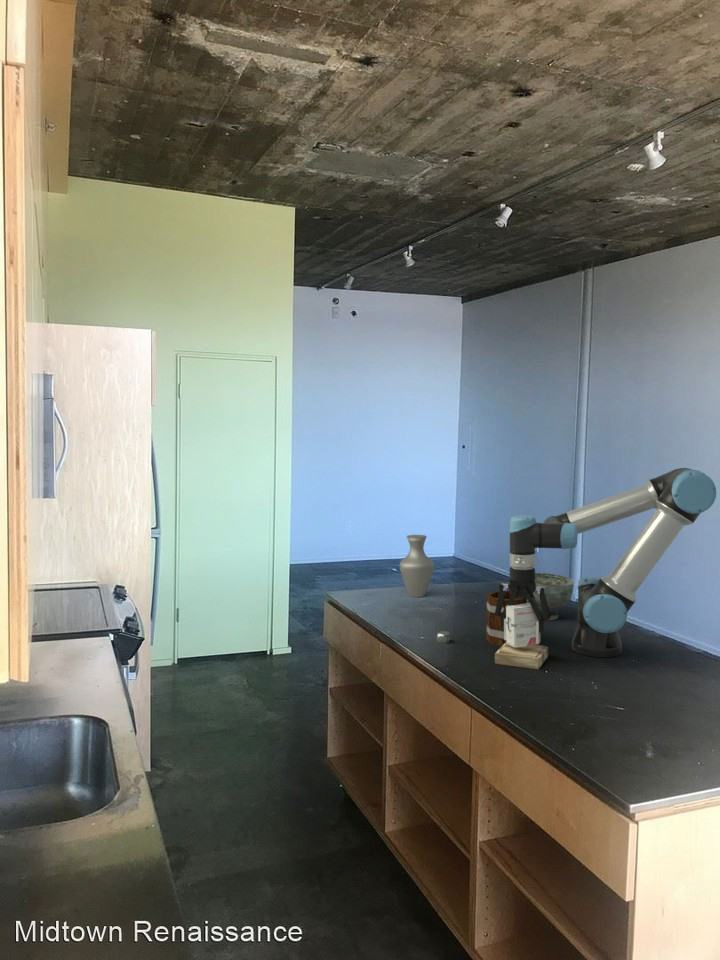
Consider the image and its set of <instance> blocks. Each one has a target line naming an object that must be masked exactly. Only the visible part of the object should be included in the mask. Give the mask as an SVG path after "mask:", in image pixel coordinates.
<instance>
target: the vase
mask: <svg viewBox="0 0 720 960" xmlns="http://www.w3.org/2000/svg"><path fill="white" fill-rule="evenodd" d="M427 537H428V536H427V535H425V534H410V535H407V536H406V539H407V541H408V544H409V552H408V554H407V555H406V556H405V557H404V558H402V560H400V561H399V569H400V570H399V571H400V573H401V577H402V580H403V583H404V587H405V588H406V591H407V594H408V597H412V598H422V597H425V596H426V594H427V591H428V589H429V587H430V584H431V579H432V577H433V574H434V570H435V563H434V561H433V559H431V558H430V557H428V556H427V555H426V553H425V550H424V545H425V541H426V539H427Z"/></svg>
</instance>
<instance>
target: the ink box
mask: <svg viewBox="0 0 720 960" xmlns="http://www.w3.org/2000/svg"><path fill="white" fill-rule="evenodd" d="M537 621H538V619H537V617H536V615H535V613H534V610H533V608H532V606H531V604H530V603H528V602H527V603H526V604H518V605H511V606H506V638H507V644H509V645H511V646H513V647H515V648H517V647H523V646H530V645H537V644H536V622H537Z"/></svg>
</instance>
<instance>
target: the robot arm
mask: <svg viewBox="0 0 720 960" xmlns="http://www.w3.org/2000/svg"><path fill="white" fill-rule="evenodd" d="M716 498H717V488H716V485H715V482H714V481H713V480H712V478H711V477H710V476H708V475H707V474H706V473H704V472H703V471H700V470H697V469H692V468H688V467H679V468H675V469H672V470H670V471H668V472H666V473H663V474H661V475H659V476H657V477H653V478H651V479H648V480H647V481H646V483H645V484H643V485H642V486H639V487H636V488H632V489H629V490H627V491H624V492H621V493H617V494H615V495H612V496H610V497H607V498H604V499H601V500H598V501H596V502H592V503H589V504H586V505H584V506H582V507H581V506H580V507H577V508H575V509H572V510H569V511H566V512H565V513H561V514H559V515H550V516H548V517H546V518H545V519H544V520H542V521H543V522H537V521H536V517H535V516H533V515H526V514H525V515H524V514H523V515H518V514H517V515H514V516H511V518H510V520H509V566H510V567H509V582H508V583H504V582H502V583H500V584H499V585H498V591H500V593H499V597H498V601H497V606H496V610H495V615H496V616H499V617H500V618H501V628H504V640H507V638H506V606H511V605H512V604H513V602H514V600H515V598H524V599H528V601H529V602H530V604H531V606H532V608H533V610H534V613H535V615H536V617H537V619H538V621H537V622H536V645H540V643H541V633H544V630H545V622H548V621H550V620H549V619H550V613H549V610H550V608H549V609H548V604H547V600H546V595H545V593H546V587H544V586H543V587H539V586H537V585H536V583H535V573H536V568H535V567H536V549H538V548H539V549H561V550H562V549H563V550H566V549H575V548H576V547H577V545H578V535H579V534H582V533H586V532H588V531H592V530H594V529H596V528H600V527H603V526H606V525H608V524H611V523H612V524H613V523H614V522H617V521H620V520H624V519H627V518H630V517H632V516H635V515H638V514H642V513H644V512H647V511H650V510H654V509H656V510H655V512H654V513H653V514H652V516H651V517H650V518H649V519H648V521H647V522H646V524H645V525H644V526H643V528H642V529H641V530H640V532H639V534H638V535H637V536H636V538H635V539H634V540H633V542H632V543H631V544H630V546H629V547H628V549H626V551H625V552H624V554H623V555H622V557H621V558H620V560H619V561H618V563H617V564H616V565H615V567H614V568H613V569H612V571H611V572H610V574H608V575H605V576H601V577H598V576H596V577H595V576H587V577H586V576H584V577H580V578H579V579H578V580H577V581H578V583H577V589H578V590H577V591H578V592H577V625H576V628H575V631H574V634H573V636H572V639H571V650H572V651H573V652H575V653H577V654H579V655H583V656H588V657H595V658H611V657H612V658H613V657H617V656H620V655H621V654H622V653H623V643H622V641H621V637H620V634H619V630H620V629H622V628H623V626H624V625H625V624H626V622H627V617H628V613H629V611H630V610H631V608H632V607H633V605H634V604H635V602H636V601H637V600H636V595H635V594H636V591H638V590H639V588H640V586H641V585H642V584H643V582H644V581H645V580H646V578H647V577H648V575H649V574H650V573H651V572H652V570H653V569H654V568H655V566H656V564H657V563H658V562H659V561H660V560H661V558H662V556H663V555H664V554H665V553H666V551H667V550H668V548H669V547H670V546H671V544H672V543H673V542H674V541H675V539H676V537H678V535H679V533H680V532H681V531H682V530H683V528H684V527H686V526H689V525H693V524H694V523H695V521H696V520H697V519H698V517H699V516H700V515H701V514H702V513H704V512H706V511H708V510H709V509H710V508H711V507H712V506H713V504H715V501H716ZM508 589H509V591H511V592H512V595H511V596H510V599H509V601H508V603H507V604H506V606H505V608H504V610H503V612H501V609H502V605H503V600H504V596H505V591H508ZM535 590H537V591H538V594H540V601H541V605H542V610H543V614H544V616H543V615H542V613H541V610H540V608H539V606H538V604H537V602H536V600H535V597H534V595H533V593H534V591H535Z"/></svg>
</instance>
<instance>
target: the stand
mask: <svg viewBox="0 0 720 960" xmlns="http://www.w3.org/2000/svg"><path fill="white" fill-rule="evenodd" d="M548 657H549V647H548V646H545V645H541V644H536V645H530V646H523V647H517V648H515V647H513V646H511V645H509V644H507V642H506V643H505V644H504V645H503V646H500V647H499V649H497V650H496V652H495V653H494V664H497V665H503V666H511V667H512V666H513V667H519V668H527V669H534V670H539V669H540V668H541V667H542V665H544V662H545V661H546V660H547V659H548Z"/></svg>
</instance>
